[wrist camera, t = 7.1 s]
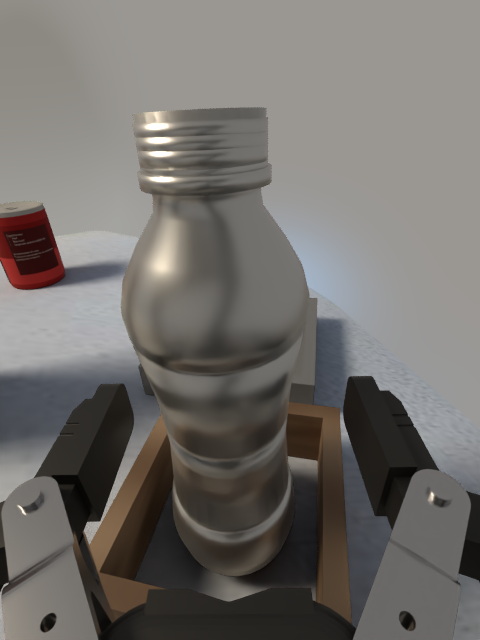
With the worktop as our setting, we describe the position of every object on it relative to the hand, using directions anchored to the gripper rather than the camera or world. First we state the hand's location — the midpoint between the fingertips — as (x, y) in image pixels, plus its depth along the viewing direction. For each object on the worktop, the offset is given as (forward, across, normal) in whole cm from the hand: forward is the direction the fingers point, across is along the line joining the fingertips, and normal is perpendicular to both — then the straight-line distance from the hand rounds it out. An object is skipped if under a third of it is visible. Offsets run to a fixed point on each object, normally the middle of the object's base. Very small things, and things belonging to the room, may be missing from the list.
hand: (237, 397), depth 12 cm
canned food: (+38, -32, -12) cm, 51 cm away
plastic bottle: (+1, -1, -11) cm, 11 cm away
